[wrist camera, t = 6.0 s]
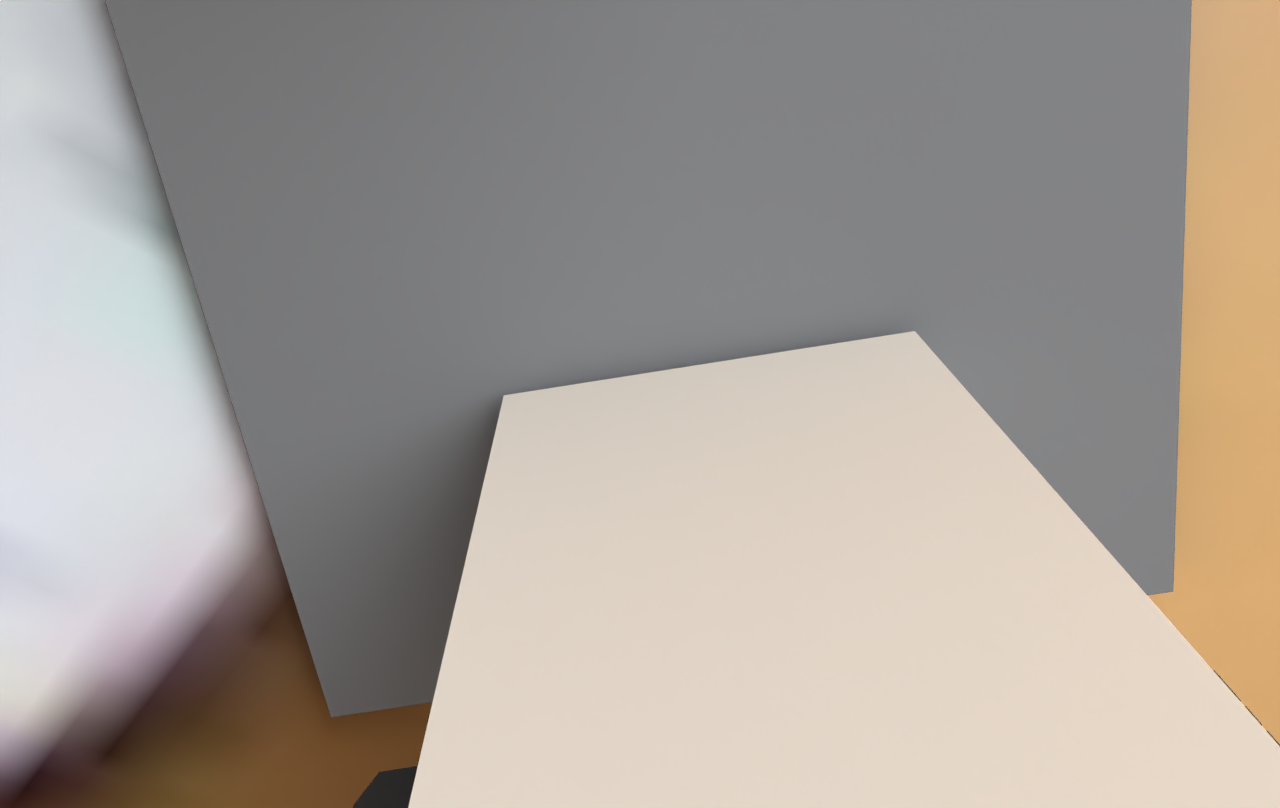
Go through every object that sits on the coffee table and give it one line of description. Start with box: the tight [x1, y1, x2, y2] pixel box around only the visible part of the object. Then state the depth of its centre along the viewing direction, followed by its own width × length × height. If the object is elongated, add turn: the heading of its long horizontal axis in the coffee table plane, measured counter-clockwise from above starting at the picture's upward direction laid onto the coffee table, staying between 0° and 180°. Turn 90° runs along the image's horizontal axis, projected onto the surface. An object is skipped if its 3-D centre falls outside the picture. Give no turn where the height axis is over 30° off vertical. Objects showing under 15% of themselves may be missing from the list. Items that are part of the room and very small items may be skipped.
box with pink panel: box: [408, 331, 1280, 808], centre depth 12 cm, size 6×7×10 cm
